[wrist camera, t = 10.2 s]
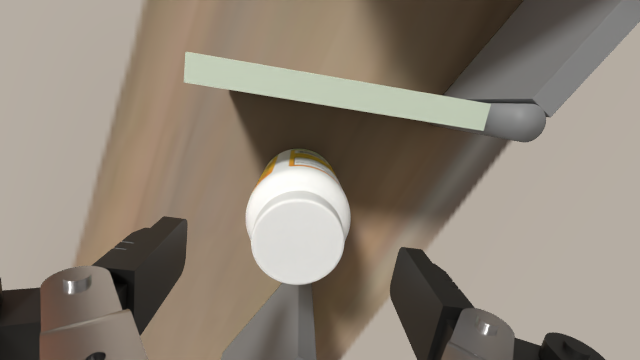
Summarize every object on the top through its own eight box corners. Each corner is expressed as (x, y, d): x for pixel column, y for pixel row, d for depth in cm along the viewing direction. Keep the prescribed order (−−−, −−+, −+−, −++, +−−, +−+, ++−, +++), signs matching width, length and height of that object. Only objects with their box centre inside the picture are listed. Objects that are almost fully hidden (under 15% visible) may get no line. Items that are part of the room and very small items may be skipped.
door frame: (543, -28, 20) (729, -126, 11) (559, -10, 20) (751, -92, 12) (220, 351, 26) (179, 480, 17) (237, 360, 26) (205, 492, 17)
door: (423, 102, 22) (490, 103, 14) (420, 120, 22) (483, 130, 14) (228, 69, 20) (185, 51, 13) (226, 89, 21) (183, 82, 13)
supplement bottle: (277, 229, 23) (261, 316, 14) (249, 162, 22) (211, 208, 13) (345, 205, 23) (377, 277, 14) (322, 136, 22) (338, 164, 12)
